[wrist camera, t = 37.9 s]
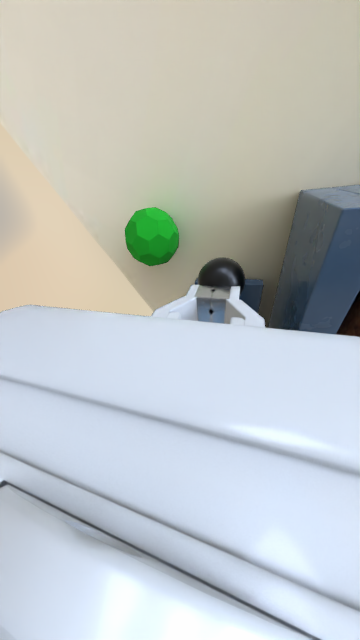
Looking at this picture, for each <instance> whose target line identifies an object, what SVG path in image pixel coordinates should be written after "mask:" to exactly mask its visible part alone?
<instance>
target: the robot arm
mask: <svg viewBox="0 0 360 640" xmlns="http://www.w3.org/2000/svg"><path fill="white" fill-rule="evenodd" d="M239 294H240V286H208V285H191V287H190V289H189V291H188V292H187V294H186V296H185V297H184V296H183V297H181V298H179V299H177V300H175V301H173V302H171V303H169V304H166V305H164V306H162V307H160V308H158V309H156V310H155V311H154V312H153V314H152V315H151V316H139V315H130V314H119V313H109V312H98V311H87V310H77V309H68V308H57V307H46V306H38V305H25V306H20V307H16V308H12V309H9V310H5V311H2V312H0V640H360V337H357V336H347V335H336V334H326V333H316V332H305V331H295V330H285V329H274V328H265V319H264V318H262V317H261V316H260V315H259V314H258V313H256V312H255V311H254V310H253V309H252V308H250V307H249V306H248V305H247V304H246V303H244V302H243V301H242V300H239Z"/></svg>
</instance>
